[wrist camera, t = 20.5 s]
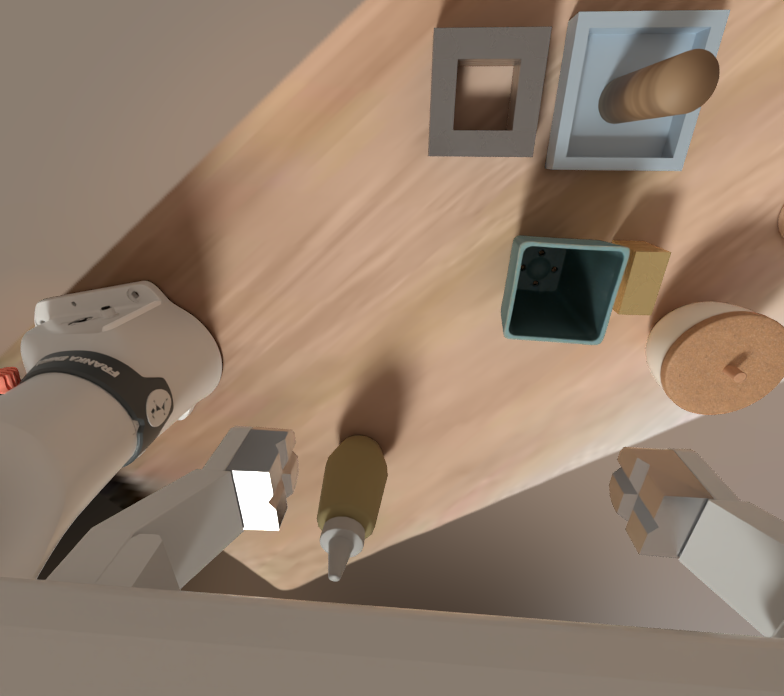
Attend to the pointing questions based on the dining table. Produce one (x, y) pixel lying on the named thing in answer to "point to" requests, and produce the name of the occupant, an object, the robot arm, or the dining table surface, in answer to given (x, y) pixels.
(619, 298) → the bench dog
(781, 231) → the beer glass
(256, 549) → the dining table surface
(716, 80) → the dowel
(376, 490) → the squeeze bottle
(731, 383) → the lidded jar
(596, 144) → the tray
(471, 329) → the dining table surface
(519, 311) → the flower pot
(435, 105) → the socket block
